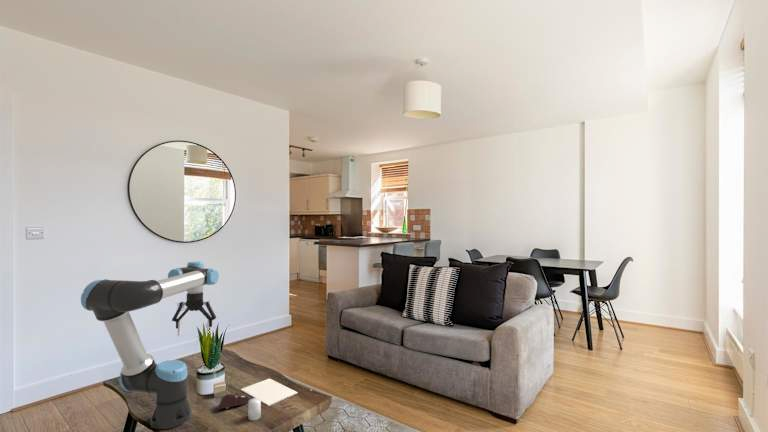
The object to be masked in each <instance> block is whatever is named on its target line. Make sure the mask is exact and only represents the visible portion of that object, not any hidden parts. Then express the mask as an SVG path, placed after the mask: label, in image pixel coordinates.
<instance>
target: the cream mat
mask: <svg viewBox="0 0 768 432" xmlns="http://www.w3.org/2000/svg"><path fill="white" fill-rule="evenodd" d="M240 391H241V392H243V393H245V394H246V395H247V396H249V397H252V399H253V398H260V399H261V404H264V405H266V406H267V407H270V406H272V405H275V404H277V403H279V402H281V401H283V400H285V398H286V399H288V398H290V397H292V396H294V395H296V394H298V391H296V390H294V389H292V388H290V387H288V386H285V385H284V384H282V383H281V382H278V381H276V380H274V379H271V378H267V379H265V380H262V381H259V382H256V383H253V384H251V385H248V386H245V387H243V388H240ZM287 397H288V398H287Z"/></svg>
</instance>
